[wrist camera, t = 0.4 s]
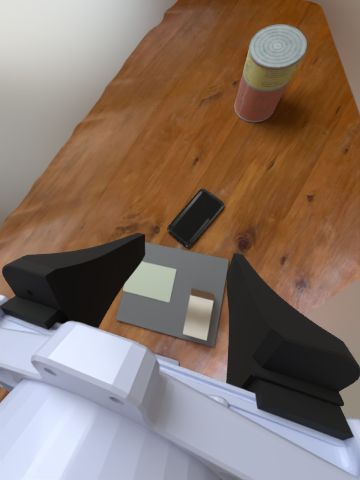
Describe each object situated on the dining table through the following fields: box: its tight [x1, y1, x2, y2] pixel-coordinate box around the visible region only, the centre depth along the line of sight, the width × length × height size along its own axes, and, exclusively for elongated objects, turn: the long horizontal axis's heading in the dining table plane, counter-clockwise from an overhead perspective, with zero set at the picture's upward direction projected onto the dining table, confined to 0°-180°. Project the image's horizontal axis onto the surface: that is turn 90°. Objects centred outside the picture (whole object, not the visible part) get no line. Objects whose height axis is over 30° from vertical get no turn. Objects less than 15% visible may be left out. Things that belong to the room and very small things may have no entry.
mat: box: [116, 242, 229, 347], centre depth 37 cm, size 20×24×1 cm
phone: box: [167, 189, 224, 247], centre depth 39 cm, size 8×1×15 cm
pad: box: [123, 262, 177, 302], centre depth 37 cm, size 12×8×1 cm, turn 78°
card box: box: [183, 288, 214, 341], centre depth 33 cm, size 9×5×4 cm, turn 168°
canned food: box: [234, 25, 307, 122], centre depth 37 cm, size 11×11×12 cm
